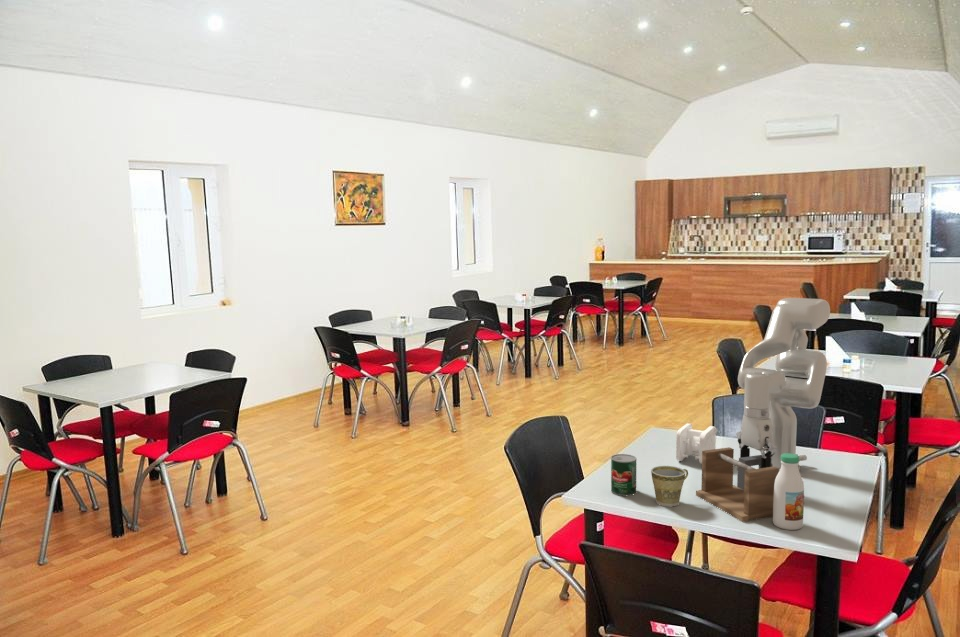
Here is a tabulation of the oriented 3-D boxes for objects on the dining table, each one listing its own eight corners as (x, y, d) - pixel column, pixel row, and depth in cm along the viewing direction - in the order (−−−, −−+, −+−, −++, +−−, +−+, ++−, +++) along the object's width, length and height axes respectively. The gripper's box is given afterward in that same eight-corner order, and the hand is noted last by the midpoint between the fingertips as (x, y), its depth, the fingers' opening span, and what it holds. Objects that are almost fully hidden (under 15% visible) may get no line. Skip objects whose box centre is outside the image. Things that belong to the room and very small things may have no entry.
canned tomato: (634, 487, 232) (634, 454, 231) (638, 496, 225) (638, 461, 223) (609, 487, 233) (609, 453, 232) (612, 496, 225) (612, 461, 224)
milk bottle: (772, 528, 198) (775, 458, 196) (772, 518, 206) (774, 449, 203) (803, 532, 196) (806, 460, 193) (802, 521, 203) (804, 452, 200)
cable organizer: (687, 452, 268) (688, 421, 267) (717, 456, 262) (717, 425, 261) (675, 463, 256) (675, 431, 254) (705, 468, 250) (706, 435, 248)
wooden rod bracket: (695, 495, 224) (696, 451, 222) (733, 489, 228) (734, 446, 227) (742, 521, 203) (743, 473, 202) (783, 515, 208) (784, 467, 206)
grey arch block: (763, 483, 233) (764, 453, 232) (771, 488, 229) (772, 457, 228) (737, 487, 230) (737, 457, 229) (745, 492, 226) (746, 461, 225)
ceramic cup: (666, 511, 212) (667, 478, 211) (643, 500, 220) (644, 469, 219) (699, 503, 218) (700, 471, 217) (675, 492, 227) (676, 462, 225)
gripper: (786, 417, 220) (784, 472, 222) (748, 405, 236) (746, 456, 238) (765, 419, 217) (763, 475, 219) (728, 407, 234) (727, 458, 236)
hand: (754, 465), depth 229 cm, fingers open, 9 cm apart
